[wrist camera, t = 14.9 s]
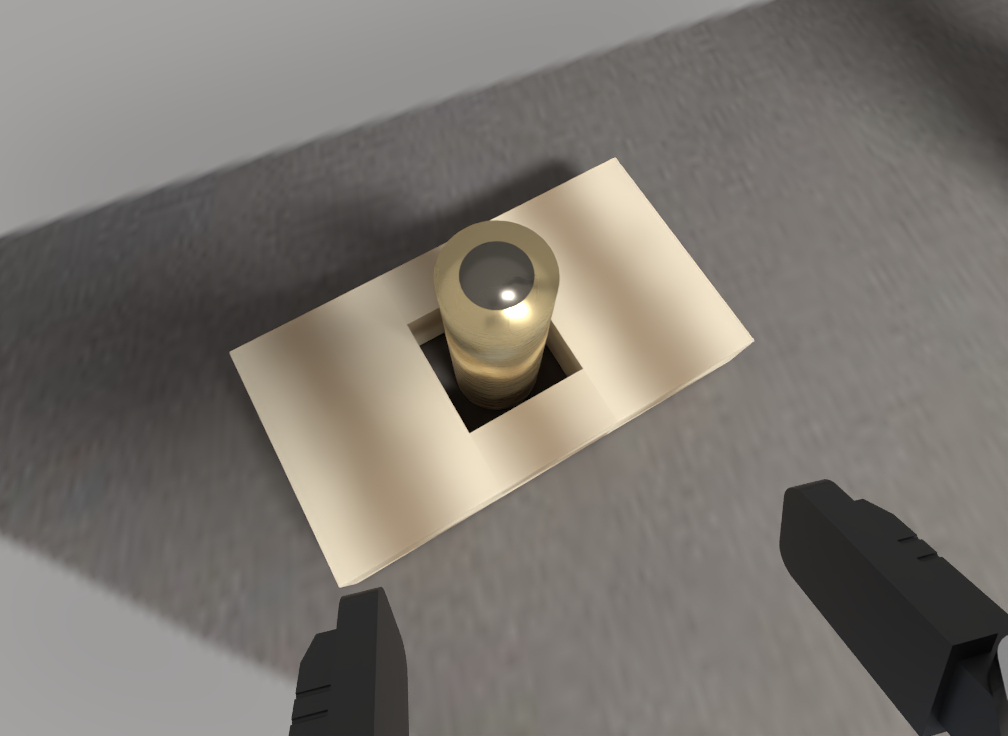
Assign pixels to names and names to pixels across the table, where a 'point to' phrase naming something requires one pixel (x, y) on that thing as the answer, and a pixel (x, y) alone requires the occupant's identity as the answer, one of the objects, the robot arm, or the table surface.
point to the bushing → (496, 309)
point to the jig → (427, 408)
